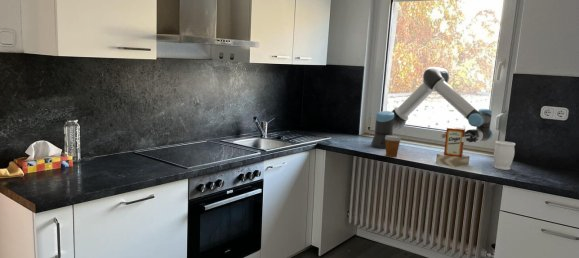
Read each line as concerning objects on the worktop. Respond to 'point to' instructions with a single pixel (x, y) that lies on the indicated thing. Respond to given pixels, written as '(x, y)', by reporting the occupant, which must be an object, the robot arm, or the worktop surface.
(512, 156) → the jar
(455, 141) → the baking soda box
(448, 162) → the plinth
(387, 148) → the disposable coffee cup
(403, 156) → the worktop surface
